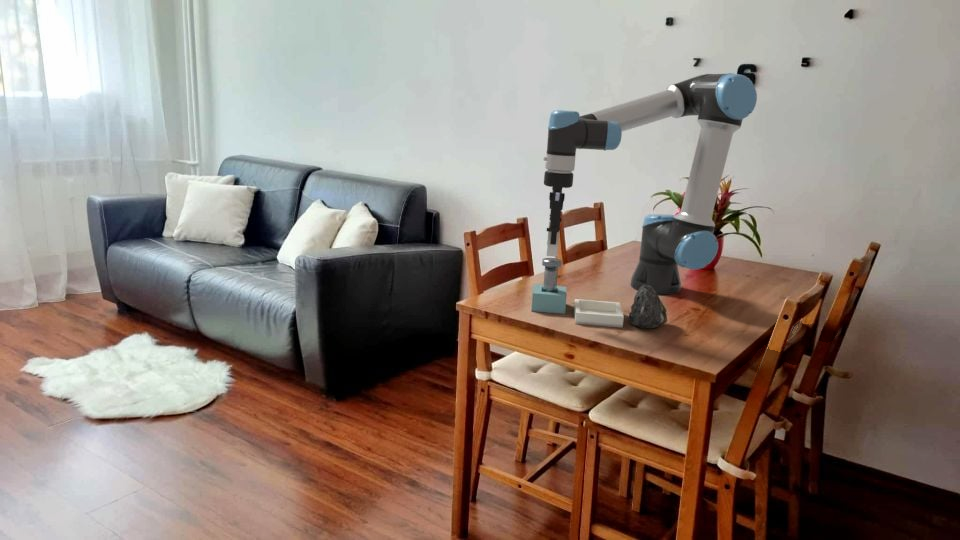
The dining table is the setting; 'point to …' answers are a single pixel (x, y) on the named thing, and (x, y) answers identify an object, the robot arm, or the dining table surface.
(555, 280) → the pin
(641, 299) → the rock
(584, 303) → the tray
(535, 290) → the socket block
